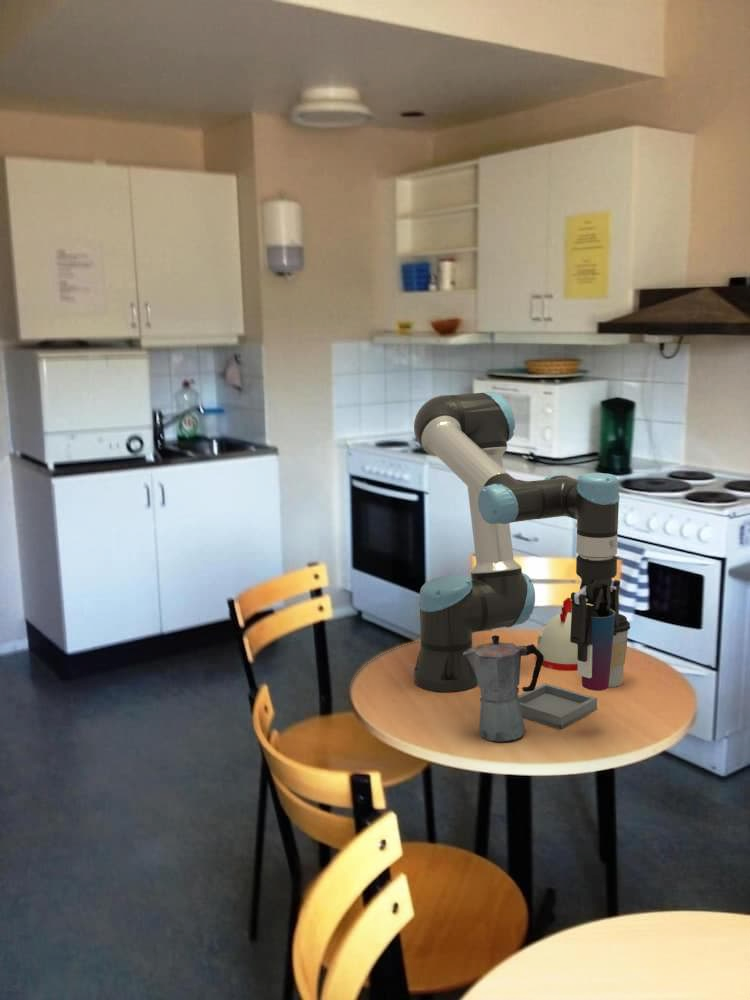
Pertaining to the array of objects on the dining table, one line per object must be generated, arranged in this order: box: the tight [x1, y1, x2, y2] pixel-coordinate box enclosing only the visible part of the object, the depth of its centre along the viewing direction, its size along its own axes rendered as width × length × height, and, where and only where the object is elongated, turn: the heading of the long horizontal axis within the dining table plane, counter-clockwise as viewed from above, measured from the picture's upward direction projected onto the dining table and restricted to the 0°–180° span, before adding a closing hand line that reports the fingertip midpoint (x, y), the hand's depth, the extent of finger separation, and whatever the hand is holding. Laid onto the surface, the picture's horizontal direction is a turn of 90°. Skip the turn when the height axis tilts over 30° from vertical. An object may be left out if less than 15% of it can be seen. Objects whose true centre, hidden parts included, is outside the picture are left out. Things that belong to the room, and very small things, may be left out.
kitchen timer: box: [535, 597, 578, 672], centre depth 221 cm, size 14×14×15 cm
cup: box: [581, 609, 615, 692], centre depth 180 cm, size 7×7×15 cm
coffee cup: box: [608, 613, 631, 688], centre depth 207 cm, size 9×9×15 cm
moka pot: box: [463, 634, 544, 743], centre depth 182 cm, size 10×15×20 cm, turn 88°
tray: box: [518, 682, 598, 730], centre depth 193 cm, size 13×13×2 cm
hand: (594, 670), depth 181 cm, fingers closed on cup, 6 cm apart
